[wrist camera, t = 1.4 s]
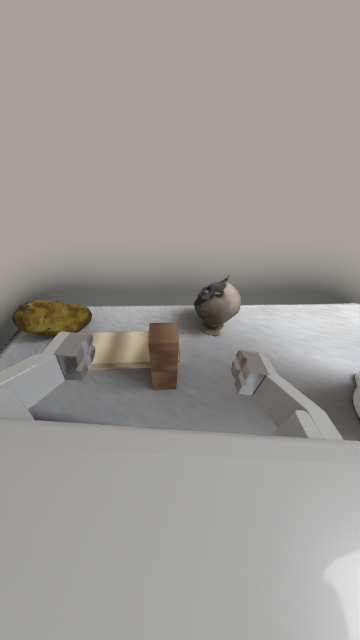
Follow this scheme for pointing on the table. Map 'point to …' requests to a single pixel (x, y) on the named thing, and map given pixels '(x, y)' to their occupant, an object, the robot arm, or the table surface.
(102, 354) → the plank
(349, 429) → the table surface
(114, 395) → the table surface
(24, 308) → the potato
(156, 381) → the wooden block
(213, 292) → the round clay pot
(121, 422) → the table surface
